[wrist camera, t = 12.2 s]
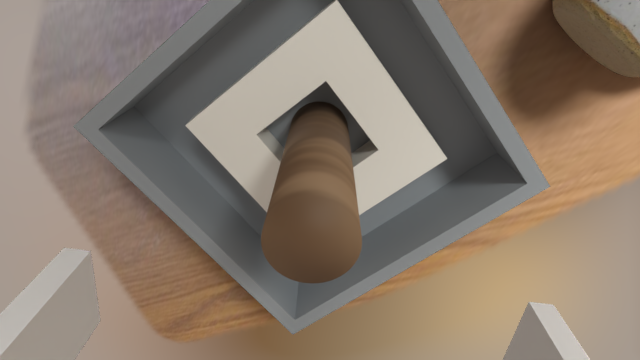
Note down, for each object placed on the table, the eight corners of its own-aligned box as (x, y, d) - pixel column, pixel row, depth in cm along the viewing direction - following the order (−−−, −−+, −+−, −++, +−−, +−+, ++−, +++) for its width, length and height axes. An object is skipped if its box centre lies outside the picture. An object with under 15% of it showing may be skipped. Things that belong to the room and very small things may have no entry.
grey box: (349, -109, 24) (356, -135, 19) (511, 150, 31) (550, 186, 25) (119, 99, 30) (73, 126, 24) (298, 281, 36) (292, 334, 31)
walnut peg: (324, 89, 28) (320, 179, 16) (359, 134, 29) (381, 251, 17) (278, 124, 29) (240, 234, 17) (314, 166, 31) (303, 298, 18)
